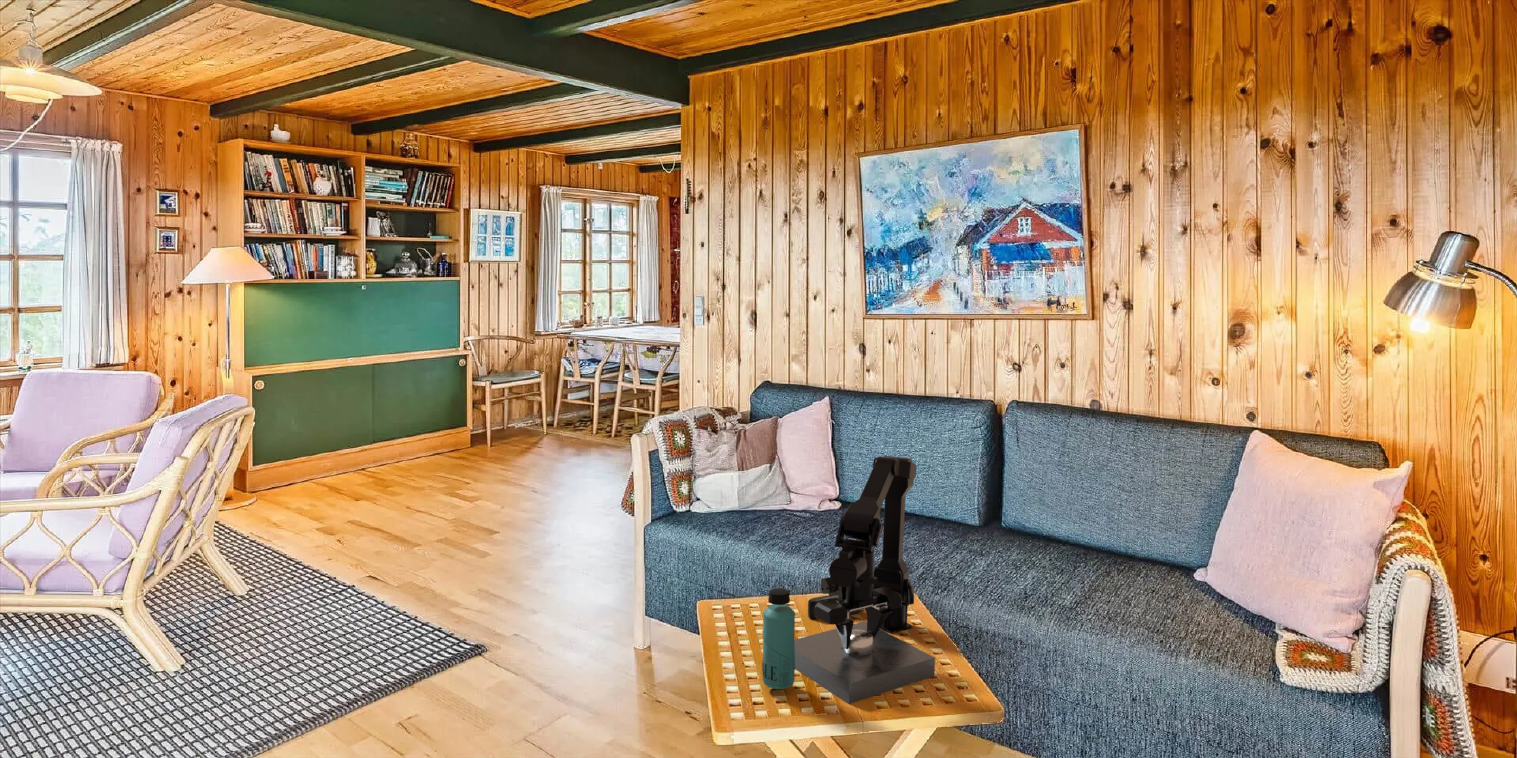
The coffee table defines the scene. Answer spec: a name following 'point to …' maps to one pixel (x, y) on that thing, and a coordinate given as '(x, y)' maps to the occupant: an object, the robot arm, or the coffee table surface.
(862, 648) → the end cover
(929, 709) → the coffee table surface
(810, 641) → the bore block
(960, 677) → the coffee table surface
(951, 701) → the coffee table surface
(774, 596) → the beverage bottle
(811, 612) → the mobile phone
